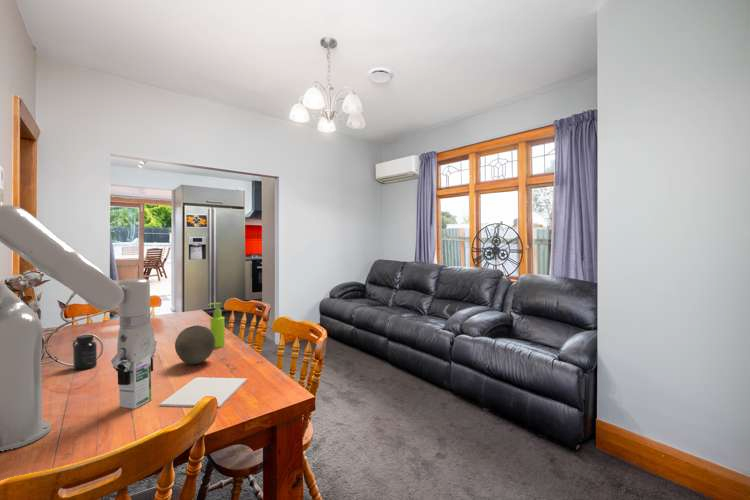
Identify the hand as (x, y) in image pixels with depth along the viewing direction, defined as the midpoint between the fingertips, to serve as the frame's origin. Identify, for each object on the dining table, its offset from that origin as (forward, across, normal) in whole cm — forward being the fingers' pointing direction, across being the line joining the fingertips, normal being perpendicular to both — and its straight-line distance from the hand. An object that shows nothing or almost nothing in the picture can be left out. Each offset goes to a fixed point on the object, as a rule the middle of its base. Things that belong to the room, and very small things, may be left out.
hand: (136, 377), depth 104 cm
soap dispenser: (+8, +56, +3) cm, 56 cm away
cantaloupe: (+8, +33, 0) cm, 34 cm away
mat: (+8, +9, -17) cm, 20 cm away
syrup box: (+8, 0, 0) cm, 8 cm away
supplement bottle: (+8, +27, +39) cm, 48 cm away
